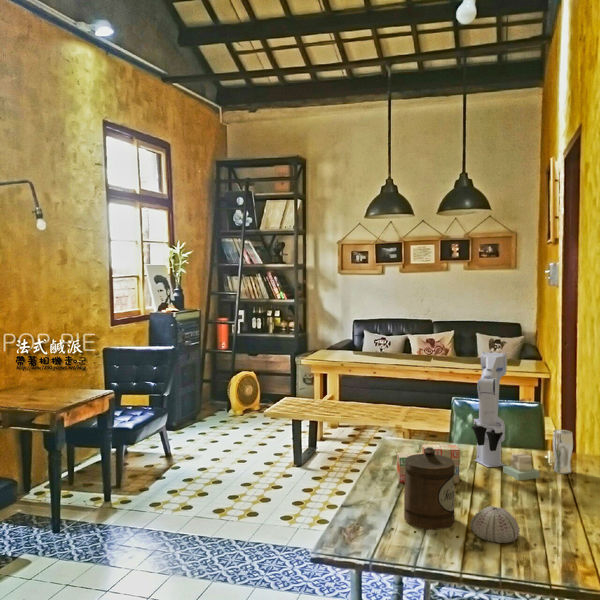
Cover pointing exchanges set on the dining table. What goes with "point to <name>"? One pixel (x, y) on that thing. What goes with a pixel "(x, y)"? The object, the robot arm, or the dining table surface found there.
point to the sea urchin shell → (495, 525)
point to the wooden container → (429, 490)
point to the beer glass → (562, 450)
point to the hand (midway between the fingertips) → (486, 447)
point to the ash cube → (521, 461)
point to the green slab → (521, 473)
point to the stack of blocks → (440, 449)
